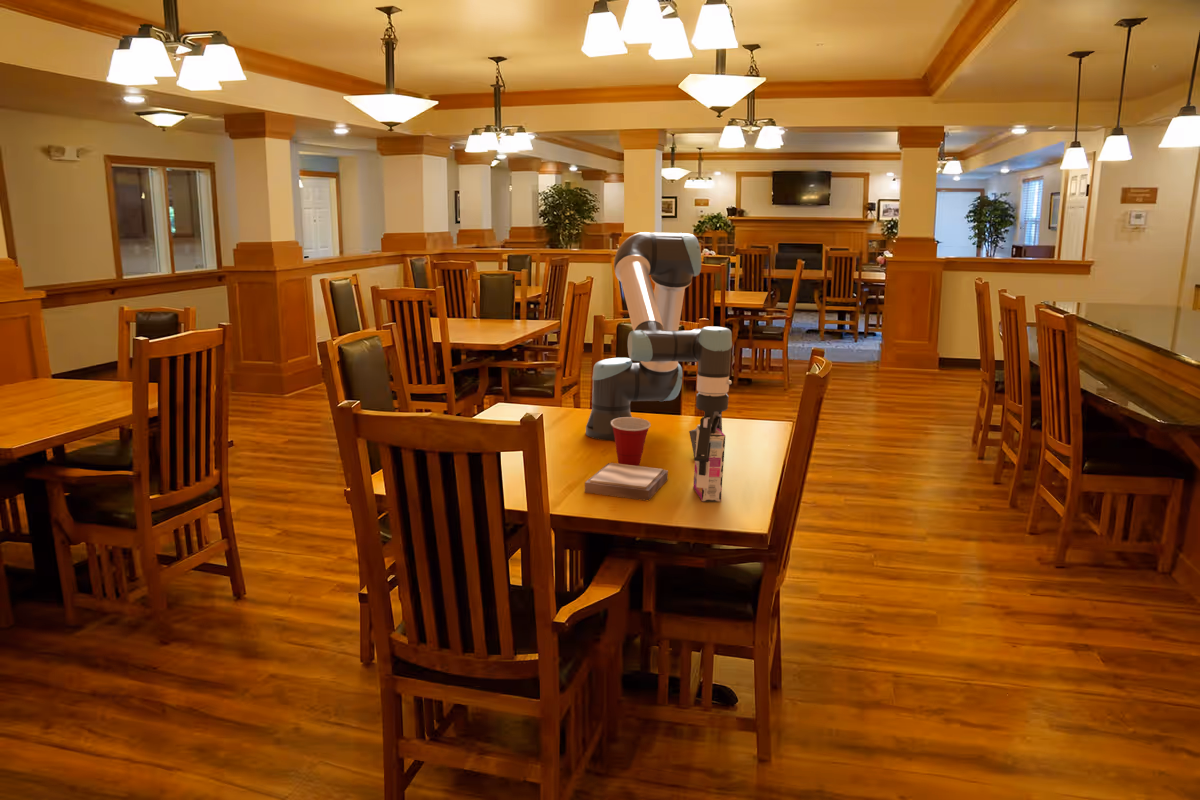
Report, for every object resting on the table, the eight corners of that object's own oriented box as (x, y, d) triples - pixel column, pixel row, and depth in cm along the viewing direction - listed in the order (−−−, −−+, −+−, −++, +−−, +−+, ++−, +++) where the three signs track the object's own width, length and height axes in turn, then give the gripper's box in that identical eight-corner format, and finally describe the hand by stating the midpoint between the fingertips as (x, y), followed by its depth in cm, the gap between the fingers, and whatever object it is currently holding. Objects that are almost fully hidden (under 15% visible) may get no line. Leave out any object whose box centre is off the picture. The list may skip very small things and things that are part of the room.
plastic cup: (612, 471, 224) (614, 426, 221) (606, 459, 234) (607, 417, 232) (653, 470, 226) (654, 426, 223) (644, 458, 236) (646, 416, 234)
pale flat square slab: (608, 472, 223) (608, 461, 222) (667, 479, 218) (668, 468, 217) (584, 492, 206) (585, 480, 205) (648, 500, 201) (648, 488, 200)
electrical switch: (704, 461, 235) (703, 428, 234) (688, 459, 239) (687, 426, 237) (721, 454, 242) (720, 422, 241) (706, 453, 246) (705, 421, 244)
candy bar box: (722, 502, 201) (726, 435, 198) (701, 502, 201) (705, 435, 197) (712, 487, 212) (715, 423, 209) (692, 487, 212) (695, 423, 208)
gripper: (718, 404, 189) (713, 496, 193) (737, 385, 211) (732, 468, 216) (685, 401, 191) (680, 492, 195) (707, 382, 214) (703, 465, 218)
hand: (708, 480), depth 206 cm, fingers open, 12 cm apart
